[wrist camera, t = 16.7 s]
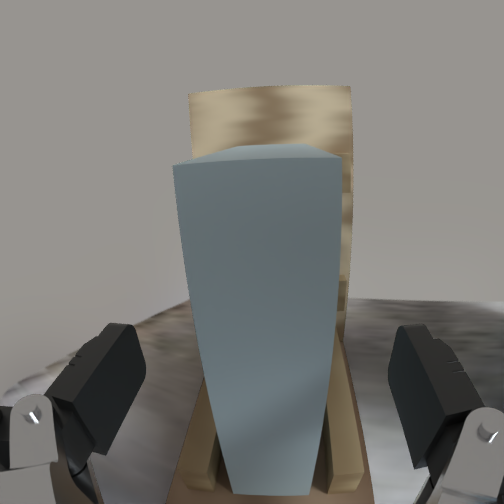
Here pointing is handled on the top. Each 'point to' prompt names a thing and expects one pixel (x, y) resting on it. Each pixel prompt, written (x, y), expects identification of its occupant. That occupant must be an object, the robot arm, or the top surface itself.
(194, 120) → the hinge base
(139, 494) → the top surface
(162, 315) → the top surface
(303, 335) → the grey flat block
